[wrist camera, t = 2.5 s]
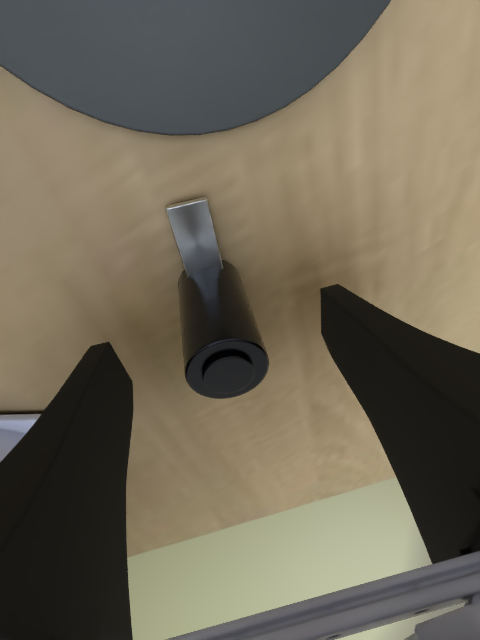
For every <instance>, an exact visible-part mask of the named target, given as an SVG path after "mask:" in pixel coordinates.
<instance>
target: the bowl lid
mask: <svg viewBox="0 0 480 640" xmlns="http://www.w3.org/2000/svg"><path fill="white" fill-rule="evenodd" d="M390 1H391V0H0V66H2V67H3V68H5V69H6V70H7V71H9V72H10V73H12V74H13V75H15V76H16V77H18V78H19V79H21V80H22V81H23V82H25V83H26V84H28V85H29V86H31V87H32V88H34V89H36V90H37V91H39V92H41V93H43V94H45V95H46V96H48V97H50V98H52V99H54V100H56V101H57V102H59V103H61V104H63V105H65V106H67V107H68V108H70V109H73V110H75V111H78V112H80V113H83V114H85V115H88V116H90V117H92V118H95V119H97V120H100V121H102V122H105V123H109V124H112V125H116V126H120V127H124V128H127V129H131V130H135V131H139V132H147V133H155V134H163V135H201V134H207V133H213V132H219V131H225V130H230V129H233V128H236V127H239V126H242V125H246V124H249V123H252V122H255V121H258V120H260V119H262V118H264V117H266V116H268V115H270V114H272V113H274V112H276V111H278V110H280V109H282V108H284V107H286V106H287V105H289V104H290V103H292V102H293V101H295V100H296V99H298V98H299V97H301V96H302V95H304V94H305V93H307V92H308V91H310V90H311V89H312V88H313V87H315V86H316V85H317V84H318V83H319V82H320V81H321V80H323V79H324V78H325V77H326V76H327V75H328V74H329V73H331V72H332V71H333V70H334V69H335V68H336V67H337V66H338V65H339V64H340V63H341V62H342V61H343V60H344V59H345V58H346V57H347V56H348V54H349V53H350V52H351V51H352V50H353V49H354V48H355V47H356V46H357V45H358V44H359V42H360V41H361V40H362V39H363V38H364V37H365V35H366V34H367V33H368V31H369V30H370V29H371V27H372V26H373V25H374V23H375V22H376V20H377V19H378V18H379V16H380V15H381V14H382V12H383V11H384V10H385V8H386V7H387V6H388V4H389V3H390Z"/></svg>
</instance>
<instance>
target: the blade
mask: <svg viewBox="0 0 480 640" xmlns="http://www.w3.org/2000/svg"><path fill="white" fill-rule="evenodd" d="M166 212H167V215H168V218H169V221H170V224H171V227H172V230H173V234H174V237H175V240H176V243H177V246H178V249H179V252H180V255H181V258H182V262H183V265H184V268H185V270H184V271H183V273H182V274H181V276H180V279H179V283H178V291H179V304H180V317H181V330H182V343H183V357H184V370H185V378H186V381H187V383H188V384H189V386H190V387H191V388H192V389H193V390H194V391H195V392H197V393H198V394H200V395H203V396H206V397H209V398H217V399H224V398H232V397H236V396H239V395H242V394H244V393H246V392H248V391H250V390H252V389H253V388H255V387H256V386H257V385H258V384H259V383H260V382H261V381H262V380H263V379H264V377H265V375H266V373H267V371H268V366H269V359H268V355H267V352H266V350H265V347H264V344H263V341H262V338H261V336H260V333H259V330H258V327H257V324H256V322H255V319H254V316H253V313H252V310H251V308H250V305H249V302H248V299H247V296H246V294H245V291H244V288H243V285H242V282H241V280H240V277H239V274H238V272H237V271H236V269H235V268H234V267H233V266H232V265H231V264H229V263H228V262H226V261H224V260H221V256H220V252H219V248H218V244H217V239H216V235H215V231H214V227H213V222H212V218H211V214H210V210H209V205H208V201H207V198H206V197H201V198H197V199H193V200H189V201H185V202H181V203H176V204H172V205H168V206H166Z"/></svg>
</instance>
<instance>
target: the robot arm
mask: <svg viewBox="0 0 480 640" xmlns="http://www.w3.org/2000/svg"><path fill="white" fill-rule="evenodd" d="M320 291H321V334H322V336H323V338H324V341H325V343H326V345H327V348H328V350H329V352H330V354H331V356H332V358H333V360H334V362H335V363H336V365H337V367H338V368H339V370H340V372H341V373H342V375H343V377H344V378H345V380H346V381H347V383H348V385H349V386H350V388H351V390H352V391H353V393H354V394H355V396H356V398H357V399H358V401H359V403H360V404H361V406H362V407H363V409H364V411H365V413H366V414H367V416H368V418H369V420H370V421H371V424H372V426H373V428H374V430H375V432H376V434H377V436H378V438H379V440H380V442H381V444H382V446H383V448H384V451H385V453H386V455H387V457H388V459H389V462H390V464H391V466H392V468H393V470H394V472H395V475H396V477H397V479H398V481H399V484H400V486H401V488H402V491H403V493H404V495H405V498H406V500H407V502H408V505H409V507H410V509H411V512H412V514H413V516H414V519H415V522H416V524H417V527H418V529H419V531H420V534H421V536H422V539H423V541H424V543H425V546H426V548H427V551H428V554H429V557H430V559H431V562H432V563H433V564H432V565H428V566H425V567H421V568H418V569H414V570H410V571H407V572H403V573H400V574H396V575H393V576H389V577H386V578H382V579H379V580H375V581H371V582H368V583H364V584H361V585H358V586H354V587H350V588H347V589H343V590H340V591H336V592H332V593H329V594H325V595H322V596H319V597H315V598H311V599H308V600H304V601H301V602H297V603H293V604H290V605H286V606H283V607H279V608H276V609H272V610H269V611H265V612H262V613H258V614H255V615H251V616H247V617H244V618H240V619H237V620H233V621H230V622H226V623H223V624H219V625H216V626H212V627H209V628H205V629H201V630H198V631H194V632H191V633H187V634H184V635H180V636H176V637H173V638H169V639H166V640H334V639H338V638H341V637H345V636H348V635H352V634H355V633H359V632H362V631H366V630H369V629H372V628H376V627H380V626H383V625H387V624H390V623H394V622H397V621H401V620H404V619H408V618H411V617H415V616H418V615H422V614H425V613H429V612H432V611H436V610H439V609H443V608H446V607H450V606H453V605H457V604H460V603H463V602H466V603H465V605H464V607H461V608H459V609H456V610H454V611H451V612H448V613H445V614H443V615H440V616H438V617H435V618H432V619H430V620H427V621H425V622H422V623H419V624H417V625H416V627H415V633H414V634H412V635H411V636H409V637H407V638H406V639H404V640H480V353H477V352H474V351H471V350H468V349H465V348H462V347H460V346H457V345H454V344H452V343H449V342H447V341H445V340H442V339H440V338H437V337H435V336H432V335H430V334H428V333H426V332H423V331H421V330H419V329H417V328H415V327H413V326H411V325H409V324H407V323H405V322H403V321H401V320H399V319H397V318H395V317H393V316H392V315H390V314H388V313H386V312H384V311H383V310H381V309H379V308H377V307H376V306H374V305H372V304H370V303H369V302H367V301H365V300H364V299H362V298H360V297H359V296H357V295H355V294H354V293H352V292H351V291H349V290H347V289H346V288H344V287H342V286H340V285H339V284H336V285H332V286H328V287H324V288H320ZM132 419H133V384H132V380H131V378H130V377H129V375H128V373H127V372H126V370H125V368H124V366H123V365H122V363H121V361H120V360H119V358H118V356H117V354H116V353H115V351H114V349H113V348H112V346H111V344H110V342H105V343H101V344H97V345H93V346H91V347H90V348H89V349H88V351H87V352H86V353H85V355H84V356H83V357H82V359H81V360H80V362H79V363H78V365H77V366H76V368H75V369H74V370H73V372H72V373H71V375H70V376H69V378H68V379H67V380H66V382H65V383H64V385H63V386H62V387H61V389H60V390H59V392H58V393H57V395H56V396H55V397H54V399H53V400H52V401H51V403H50V404H49V405H48V406H47V408H46V409H45V410H44V412H43V413H42V414H13V415H0V640H133V638H132V627H131V616H130V602H129V588H128V568H127V544H126V478H127V466H128V457H129V448H130V438H131V429H132Z"/></svg>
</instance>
